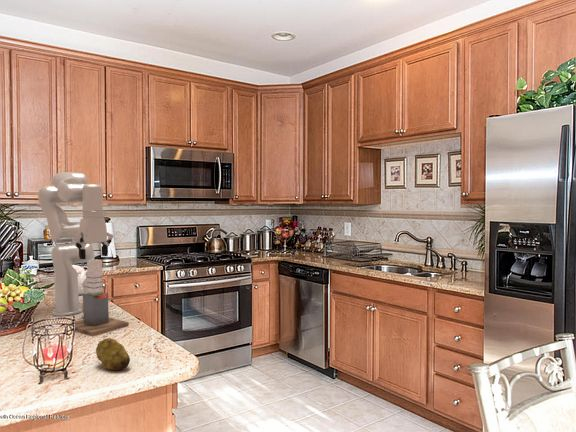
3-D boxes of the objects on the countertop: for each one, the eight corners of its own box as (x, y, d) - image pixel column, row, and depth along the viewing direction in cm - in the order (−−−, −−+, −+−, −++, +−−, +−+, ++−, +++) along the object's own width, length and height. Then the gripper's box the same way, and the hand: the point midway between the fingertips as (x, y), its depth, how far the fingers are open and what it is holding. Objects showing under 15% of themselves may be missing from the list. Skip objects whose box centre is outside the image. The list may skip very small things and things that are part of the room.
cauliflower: (47, 282, 230) (65, 256, 239) (51, 292, 245) (68, 266, 254) (84, 298, 233) (100, 271, 242) (86, 306, 248) (101, 281, 256)
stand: (63, 327, 180) (62, 294, 179) (99, 318, 193) (98, 287, 192) (92, 336, 169) (91, 301, 168) (128, 325, 182) (127, 293, 181)
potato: (102, 376, 131) (102, 349, 130) (94, 363, 142) (93, 338, 141) (131, 370, 135) (131, 344, 135) (121, 357, 146) (120, 333, 146)
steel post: (88, 308, 180) (86, 260, 179) (97, 306, 183) (96, 259, 182) (94, 309, 178) (92, 261, 177) (103, 307, 181) (102, 259, 180)
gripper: (106, 213, 188) (107, 254, 189) (66, 215, 174) (68, 259, 175) (117, 214, 184) (118, 255, 185) (77, 216, 170) (78, 261, 171)
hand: (93, 257), depth 180 cm, fingers open, 9 cm apart
